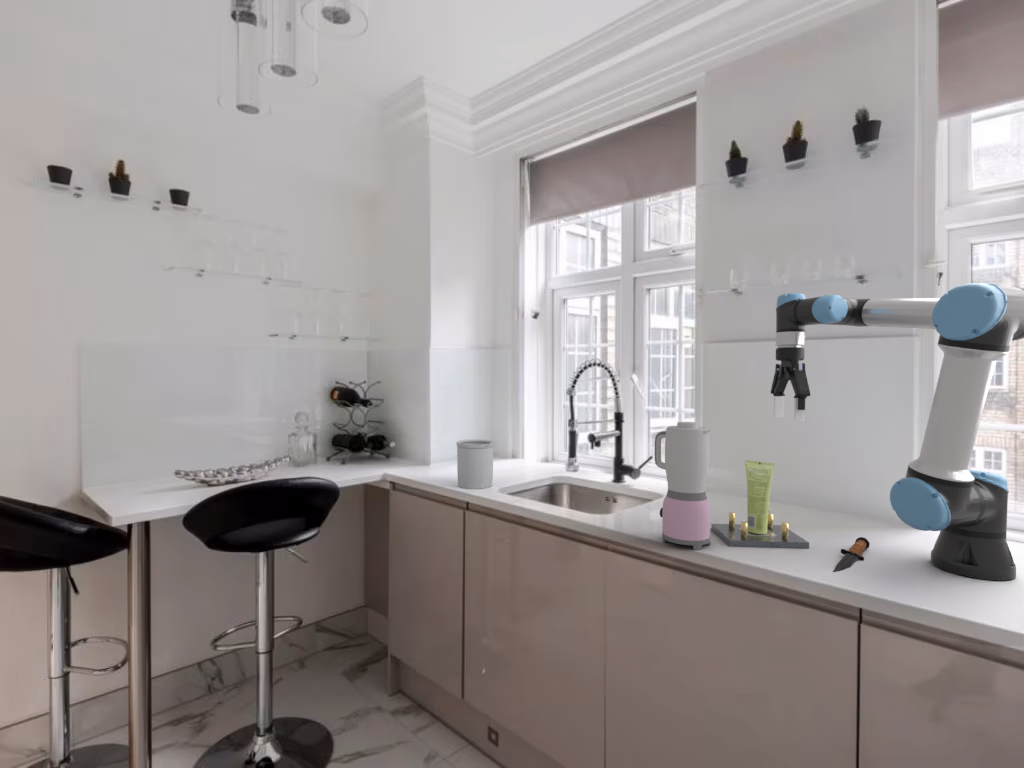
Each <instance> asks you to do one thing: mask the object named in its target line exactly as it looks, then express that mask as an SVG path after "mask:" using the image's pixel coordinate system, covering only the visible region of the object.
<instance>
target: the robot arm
mask: <svg viewBox="0 0 1024 768" xmlns="http://www.w3.org/2000/svg"><path fill="white" fill-rule="evenodd" d="M776 300H777V301H776V306H775V307H776V308H775V311H776V312H775V313H776V325H775V327H776V329H775V331H776V332H775V347H776V349H775V360H776V361H779V362H780V363H776V364H775V369H774V371H775V372H774V375H773V380H772V383H771V387H770V394H772V396H773V418H774V419H775V418H777V419H778V418H779V419H781V418H782V419H784V418H785V396H786V395H785V390H786V389H787V388H786V387H787V386H788V383H789V381H790V383H791V386H792V389H793V393H794V396H793V398H794V403H793V407H794V408H793V411H794V412H793V422H795V423H796V422H801V423H805V422H806V400H807V398H808V397H810V396H811V390H810V386H809V382H808V377H807V374H806V373H807V372H806V364H805V362H801V361H804V360H805V351H806V350H805V348H804V347H803V346H805V340H806V338H807V337H806V333H805V332H806V326H814V325H815V326H816V325H831V326H834V325H835V326H851V327H875V328H876V327H877V328H878V327H879V328H899V329H900V328H901V329H904V328H905V329H920V330H921V329H923V330H924V329H925V330H936V332H937V333H938V334H939V337H938V342H937V346H938V347H939V348H940V350H941V351H942V353H943V357H942V361H941V362H942V363H941V366H940V370H939V374H938V378H937V383H936V387H935V391H934V393H933V399H932V404H931V407H930V411H929V415H928V419H927V423H926V428H925V431H924V434H923V435H924V436H923V441H922V444H921V447H920V452H919V457H918V458H917V459H914V460H912V461H910V462H909V463H908V466H907V470H906V474H905V477H902V478H901V479H899V480H897V481H896V482H895V483H893V484H892V487H891V488H890V490H889V501H890V505H891V508H892V509H893V511H894V512H895V514H896V515H897V517H898V518H899V519H900V520H901V521H902V522H903V524H906V525H907V526H909V527H910V528H912V529H915V530H918V531H925V532H929V531H932V532H939V534H938V536H937V538H936V540H935V543H934V545H933V549H932V550H931V551H930V563H931V564H932V565H933V566H935V567H937V568H939V569H940V570H943V571H944V570H945V571H947V572H950V573H953V574H957V575H961V576H964V577H969V578H976V579H981V580H987V581H988V580H989V581H990V580H991V581H1010V580H1014V579H1016V577H1017V566H1016V563H1015V562H1014V558H1013V554H1012V553H1011V550H1010V547H1009V545H1008V542H1007V527H1008V525H1007V523H1008V499H1009V495H1008V494H1009V489H1008V480H1007V478H1006V477H1005V476H1004V475H1002V474H999V473H993V472H987V471H980V470H975V469H969V464H970V461H971V458H972V454H973V450H974V446H975V444H976V443H975V442H976V438H977V434H978V430H979V427H980V423H981V420H982V415H983V411H984V408H985V405H986V402H987V397H988V394H989V393H988V392H989V389H990V385H991V384H992V383H991V382H992V378H993V375H994V371H995V366H996V365H997V361H998V360H999V359H1001V358H1003V357H1005V356H1007V355H1009V353H1010V348H1011V346H1012V342H1013V341H1019V340H1022V339H1024V287H1021V286H1015V285H1014V286H1013V285H1012V286H1010V285H1003V284H1002V285H1001V284H995V283H990V282H989V283H987V282H981V283H980V282H979V283H978V282H977V283H974V282H972V283H965V284H961V285H957V286H955V287H953V288H952V289H949V290H948V291H947V292H945V293H944V294H943V295H942V296H941V297H940V298H939V297H933V298H930V297H925V298H924V297H923V298H919V297H918V298H916V297H915V298H844V297H842V296H841V295H839V294H824V295H822V296H815V297H810V298H806V295H805V294H804V293H800V292H790V293H783V294H780V295H779V296H777V299H776Z"/></svg>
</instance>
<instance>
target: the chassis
mask: <svg viewBox="0 0 1024 768" xmlns="http://www.w3.org/2000/svg"><path fill="white" fill-rule="evenodd" d="M789 527H790V524H789V523H788V522H781V525H780V524H779V525H778V524H777V525H776V524H774V513H772V512H771V513H770V512H768V525H767V533H766V534H755V533H751V532H749V531H748V530H747V529H748V522H747V521H741V522H740V523H736V513H735V512H732V511H731V512H730V511H729V512H728V523H710V530H712V531H713V532H714V533H715V534H716V535H717V536H718V537H719V538H720V539H722V541H723V542H725V543H726V544H727V545H728V546H729V547H742V548H743V547H745V548H781V549H786V548H787V549H810V542H809V541H808V540H806V539H804V538H802V536H800V535H798V534H796V533H795V532H793V531H792V530H790V528H789Z"/></svg>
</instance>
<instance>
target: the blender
mask: <svg viewBox="0 0 1024 768" xmlns="http://www.w3.org/2000/svg"><path fill="white" fill-rule="evenodd" d="M710 432H711V430H710V429H709V428H708V427H706V426H705V427H704V426H699V425H698V422H695V421H677V422H676V425H669V426H667V427H666V428H665V431H660V432H658V433H657V434H655V435H656V436H655V438H654V463H655V465H656V466H657V467H658V468H660V469H663V470H665V475H666V476H665V477H666V482H667V492H666V496H665V497H664V499H663V502H662V507H661V508H660V510H659V516H660V518H662V521H661V522H662V530H661V531H662V533H661V536H662V543H666V542H670V543H673V544H678V545H684V546H692V550H694V551H700V550H702V547H703V545H707V546H711V515H712V514H711V504H710V501H709V499H708V496H707V492H706V489H707V484H708V477H709V472H710V465H711V464H710V461H711V459H710V458H711V442H710V438H711V437H710ZM664 438H665V442H664V461H662V439H664Z"/></svg>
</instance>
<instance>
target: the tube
mask: <svg viewBox="0 0 1024 768" xmlns="http://www.w3.org/2000/svg"><path fill="white" fill-rule="evenodd" d="M744 464H745V471H746V472H745V474H746V498H747V500H746V501H747V502H746V503H747V521H746V522H748V529H747V530H748V531H749V532H751V533H755V534H766V533H767V525H768V513H769V508H770V498H771V487H772V480H773V473H774V468H775V463H773V462H767V461H766V462H765V461H757V460H749V459H745V460H744Z"/></svg>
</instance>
